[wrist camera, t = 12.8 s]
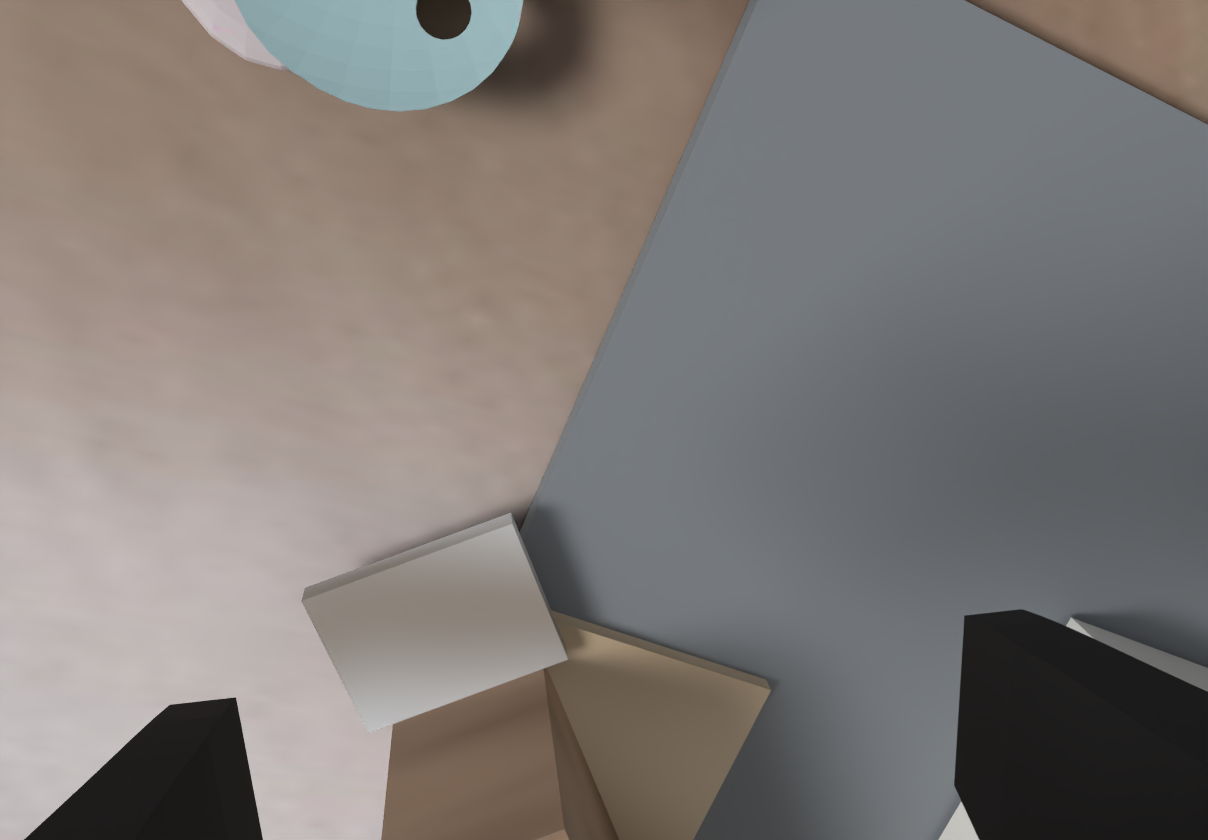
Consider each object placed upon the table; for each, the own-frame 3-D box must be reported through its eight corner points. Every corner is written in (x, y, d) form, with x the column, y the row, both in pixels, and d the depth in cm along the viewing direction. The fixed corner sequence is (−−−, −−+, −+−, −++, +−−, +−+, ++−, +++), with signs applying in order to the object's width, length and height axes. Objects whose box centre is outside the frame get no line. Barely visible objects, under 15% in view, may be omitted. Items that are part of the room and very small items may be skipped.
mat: (784, -82, 18) (795, -86, 18) (1516, 290, 22) (1543, 296, 22) (316, 1001, 24) (312, 1023, 24) (958, 1142, 28) (968, 1164, 28)
